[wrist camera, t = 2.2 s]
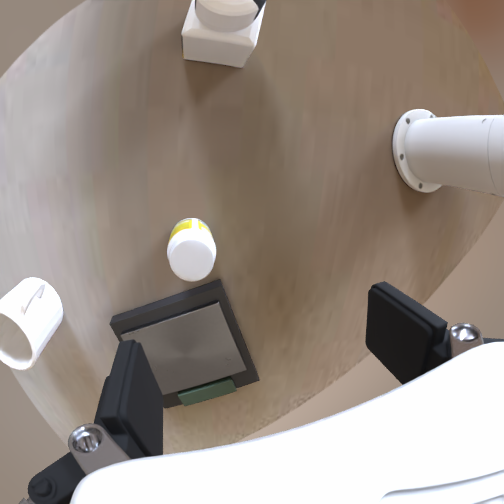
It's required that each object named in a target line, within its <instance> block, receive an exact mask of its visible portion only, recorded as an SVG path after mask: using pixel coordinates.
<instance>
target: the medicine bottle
mask: <svg viewBox="0 0 504 504" xmlns="http://www.w3.org/2000/svg"><path fill="white" fill-rule="evenodd" d="M265 3H266V0H192V2H191V5H190V8H189V11H188V14H187V17H186V20H185V23H184V26H183V30H182V33H181V36H182V53H183V58H184V59H187V60H195V61H202V62H209V63H216V64H222V65H228V66H233V67H238V68H242V67H244V65H245V63H246V61H247V60H248V58H249V56H250V55H251V53H252V51H253V49H254V48H255V46H256V43H257V38H258V34H259V29H260V25H261V20H262V16H263V12H264V8H265Z"/></svg>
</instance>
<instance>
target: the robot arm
mask: <svg viewBox="0 0 504 504" xmlns="http://www.w3.org/2000/svg"><path fill="white" fill-rule="evenodd" d="M393 155H394V160H395V164H396V167H397V169H398V171H399V174H400V176H401V177H402V179H403V180H404V181H405V183H406V184H407V185H408V186H409V187H411V188H412V189H414V190H416V191H419V192H425V193H428V192H433V191H436V190H437V189H438V188H440V187H441V186H442V185H446V186H452V187H457V188H462V189H468V190H473V191H478V192H482V193H487V194H492V195H496V196H500V197H504V115H479V116H457V117H442V118H437V117H436V116H435V115H434V114H432V113H431V112H429V111H426V110H423V109H416V110H411V111H409V112H406V113H405V114H404V115H403V116H402V117H401V118H400V119H399V121H398V123H397V125H396V127H395V131H394V134H393ZM447 323H448V322H446V321H445V320H443V319H442V318H440V317H439V316H437V315H436V314H434V313H433V312H431V311H430V310H428V309H427V308H425V307H424V306H422V305H421V304H419V303H418V302H416V301H415V300H413V299H412V298H410V297H409V296H407V295H406V294H404V293H402V292H401V291H399V290H398V289H396V288H395V287H393V286H392V285H390V284H388V283H387V282H385V281H384V282H380V283H377V284H374V285H372V287H371V289H370V290H369V292H368V311H367V327H366V346H367V348H368V349H369V350H370V351H371V352H372V353H373V354H374V355H375V356H376V357H377V358H378V359H379V360H380V361H381V362H382V364H383V365H384V366H385V367H386V368H387V369H388V370H389V371H390V372H391V373H392V374H393V375H394V376H395V377H396V378H397V379H398V380H399V381H400V383H402V386H400V387H398V388H396V389H394V390H392V391H389V392H387V393H385V394H383V395H381V396H379V397H376V398H374V399H372V400H370V401H367V402H365V403H363V404H360V405H358V406H355V407H353V408H350V409H348V410H345V411H343V412H340V413H337V414H335V415H332V416H329V417H326V418H323V419H321V420H318V421H315V422H312V423H309V424H306V425H302V426H299V427H296V428H293V429H290V430H286V431H283V432H279V433H275V434H272V435H268V436H264V437H260V438H256V439H252V440H247V441H243V442H238V443H234V444H229V445H224V446H218V447H213V448H207V449H202V450H195V451H189V452H182V453H174V454H167V455H163V395H162V392H161V390H160V388H159V385H158V383H157V381H156V379H155V376H154V374H153V372H152V369H151V367H150V364H149V362H148V360H147V357H146V355H145V352H144V350H143V347H142V345H141V343H140V342H138V343H136V341H135V340H134V339H132V340H126V341H120V343H119V346H118V349H117V352H116V356H115V359H114V362H113V366H112V369H111V373H110V376H107V377H106V379H105V382H104V386H103V389H102V393H101V397H100V400H99V404H98V408H97V412H96V416H95V420H94V424H91V423H89V424H84V425H81V426H79V427H77V428H76V429H75V430H74V431H73V432H72V433H71V435H70V437H69V439H68V446H69V449H70V452H69V453H67V454H66V455H65V456H63V457H62V458H60V459H59V460H57V461H56V462H54V463H53V464H51V465H50V466H48V467H47V468H45V469H44V470H43V471H41V472H39V473H38V474H37V475H35V476H34V477H33V478H32V479H31V481H30V482H29V485H28V494H29V498H28V499H27V500H26V499H25V498H23V499H22V500H21V501H20V503H19V504H504V339H491V338H483V337H482V334H481V332H480V330H479V329H478V328H477V327H475V326H474V325H472V324H468V323H458V324H455V325H453V326H452V327H451V328H450V330H448V329H446V328H447Z"/></svg>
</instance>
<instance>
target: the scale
mask: <svg viewBox="0 0 504 504" xmlns="http://www.w3.org/2000/svg"><path fill="white" fill-rule="evenodd" d="M216 300H218V301H219V303H220V306H221V308H222V311H223V313H224V316H225V318H226V320H227V323H228V325H229V328H230V330H231V333H232V335H233V337H234V340H235V342H236V344H237V347H238V349H239V351H240V354H241V356H242V358H243V361H244V363H245V365H246V368H247V370H245V371H242V372H239V373H236V374H233V375H230V376H227V377H224V378H221V379H217V380H214V381H211V382H208V383H204V384H201V385H198V386H194V387H191V388H187V389H184V390H180V391H176V392H173V393H169V394H165V395H163V407H164V408H169V407H173V406H177V405H181V404H184V406H187V405H191V404H195V403H198V402H202V401H206V400H209V399H212V398H216V397H219V396H222V395H226V394H229V393H232V392H235V391H237V390H236V388H239V387H242V386H245V385H248V384H251V383H253V382H256V381H259V377H258V374H257V371H256V369H255V366H254V364H253V361H252V359H251V357H250V354H249V352H248V349H247V347H246V344H245V342H244V339H243V337H242V334H241V332H240V329H239V327H238V324H237V322H236V319H235V317H234V314H233V311H232V309H231V306H230V304H229V301H228V298H227V296H226V293H225V291H224V288H223V285H222V283H221V280H217V281H214V282H211V283H208V284H206V285H203V286H200V287H197V288H194V289H191V290H188V291H186V292H183V293H180V294H177V295H174V296H171V297H168V298H165V299H163V300H160V301H157V302H154V303H151V304H148V305H145V306H142V307H139V308H136V309H133V310H131V311H128V312H125V313H122V314H119V315H116V316H113V317H112V319H111V322H110V326H111V328H112V329H113V331H114V333H115V335H116V336H117V338H118V340H119V341H123V339H122V337H121V332H124V331H127V330H130V329H133V328H136V327H139V326H142V325H145V324H148V323H151V322H155V321H158V320H161V319H164V318H167V317H170V316H173V315H176V314H179V313H181V312H184V311H187V310H190V309H193V308H196V307H199V306H202V305H205V304H208V303H211V302H213V301H216Z"/></svg>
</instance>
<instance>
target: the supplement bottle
mask: <svg viewBox="0 0 504 504" xmlns="http://www.w3.org/2000/svg"><path fill="white" fill-rule="evenodd" d="M167 257H168V260H169V263H170V266H171V269H172V271H173V272H174V273H175V274H176V275H177V276H178V277H179V278H181V279H183V280H186V281H198V280H201V279H203V278H205V277H206V276H207V275H208V274H209V273H210V271H211V270H212V268H213V265H214V261H215V257H216V247H215V243H214V240H213V237H212V234H211V231H210V229H209V227H208V226H207V225H206V224H205V223H204V222H203V221H201V220H199V219H195V218H188V219H184V220H182V221H180V222H178V223H177V224H176V225H175V227H174V228H173V230H172V232H171V236H170V240H169V243H168V248H167Z"/></svg>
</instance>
